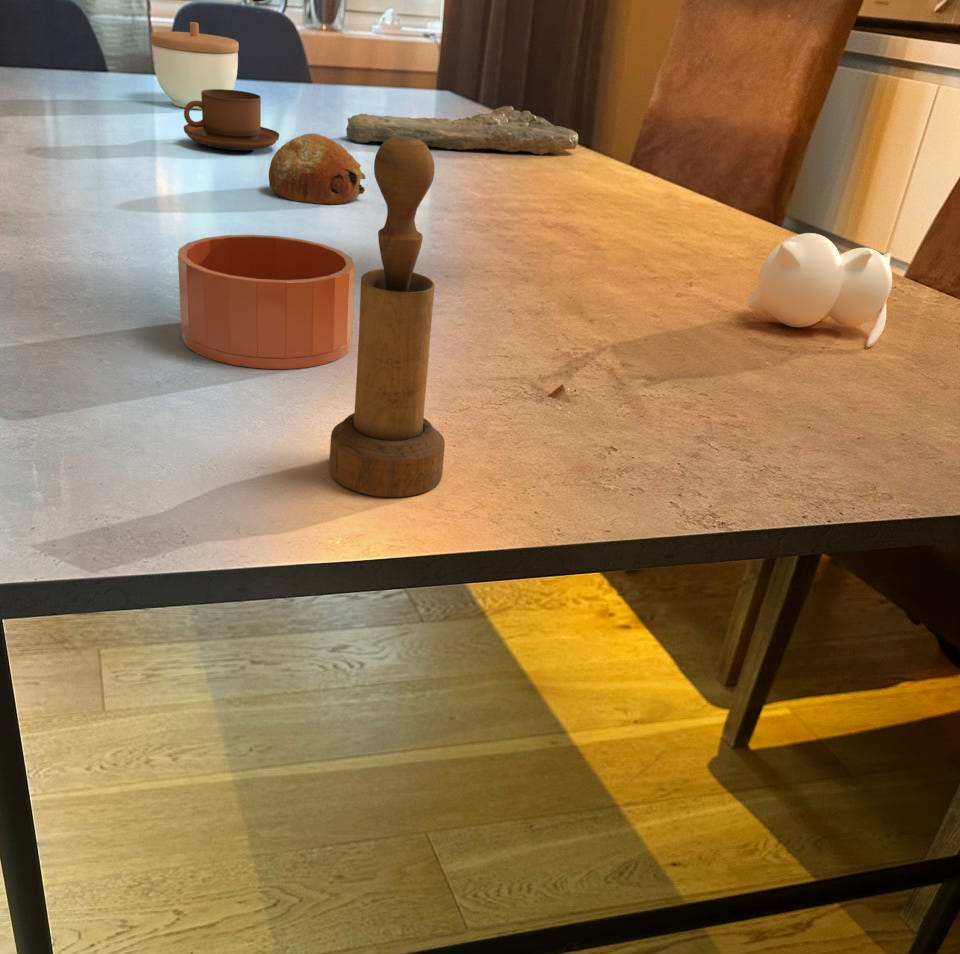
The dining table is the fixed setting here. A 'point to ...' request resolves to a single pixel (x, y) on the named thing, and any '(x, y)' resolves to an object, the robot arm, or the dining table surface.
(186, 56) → the lidded bowl
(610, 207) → the dining table surface
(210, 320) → the crock
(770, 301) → the cat figurine
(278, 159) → the bread roll
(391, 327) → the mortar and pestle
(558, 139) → the long grey stone
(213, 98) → the cup and saucer
